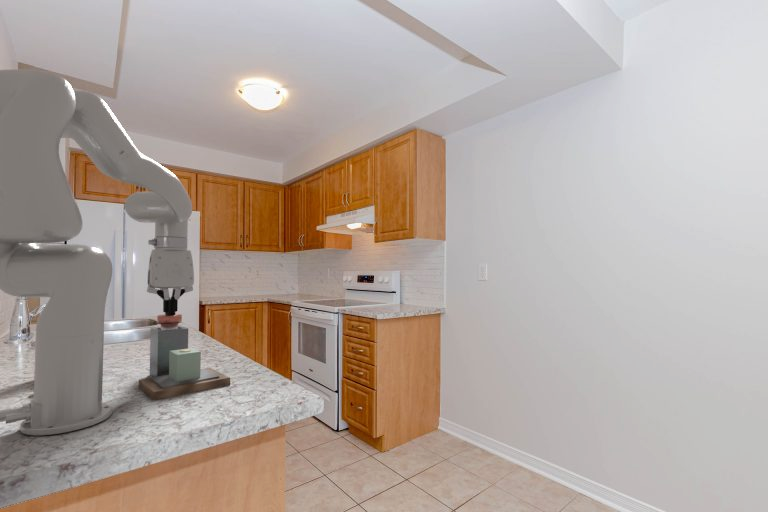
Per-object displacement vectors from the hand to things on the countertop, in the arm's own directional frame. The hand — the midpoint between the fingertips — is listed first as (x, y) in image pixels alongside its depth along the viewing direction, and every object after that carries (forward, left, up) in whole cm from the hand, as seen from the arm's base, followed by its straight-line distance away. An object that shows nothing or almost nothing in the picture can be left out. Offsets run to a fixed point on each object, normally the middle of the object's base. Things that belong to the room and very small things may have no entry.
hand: (170, 314), depth 100 cm
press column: (0, 0, -16) cm, 16 cm away
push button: (0, 0, -9) cm, 9 cm away
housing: (0, -13, -14) cm, 19 cm away
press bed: (0, -13, -16) cm, 20 cm away
